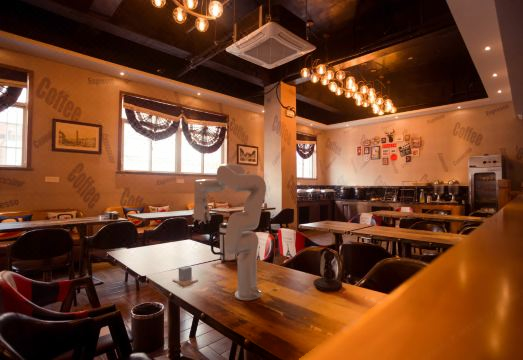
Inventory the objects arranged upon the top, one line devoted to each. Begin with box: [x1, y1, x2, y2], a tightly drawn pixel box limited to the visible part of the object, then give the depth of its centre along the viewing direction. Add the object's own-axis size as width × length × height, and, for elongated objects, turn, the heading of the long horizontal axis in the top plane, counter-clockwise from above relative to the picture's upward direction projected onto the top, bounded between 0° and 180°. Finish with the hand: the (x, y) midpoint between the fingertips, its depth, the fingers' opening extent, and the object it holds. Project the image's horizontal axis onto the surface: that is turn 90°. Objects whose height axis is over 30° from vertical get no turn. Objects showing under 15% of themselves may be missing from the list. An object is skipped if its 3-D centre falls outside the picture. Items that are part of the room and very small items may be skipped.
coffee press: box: [210, 218, 238, 264], centre depth 202 cm, size 17×16×30 cm
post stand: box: [172, 276, 199, 286], centre depth 161 cm, size 12×9×6 cm
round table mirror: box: [313, 247, 343, 292], centre depth 148 cm, size 15×15×20 cm
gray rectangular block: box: [178, 265, 193, 281], centre depth 161 cm, size 5×5×7 cm
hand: (201, 229), depth 167 cm, fingers open, 9 cm apart
